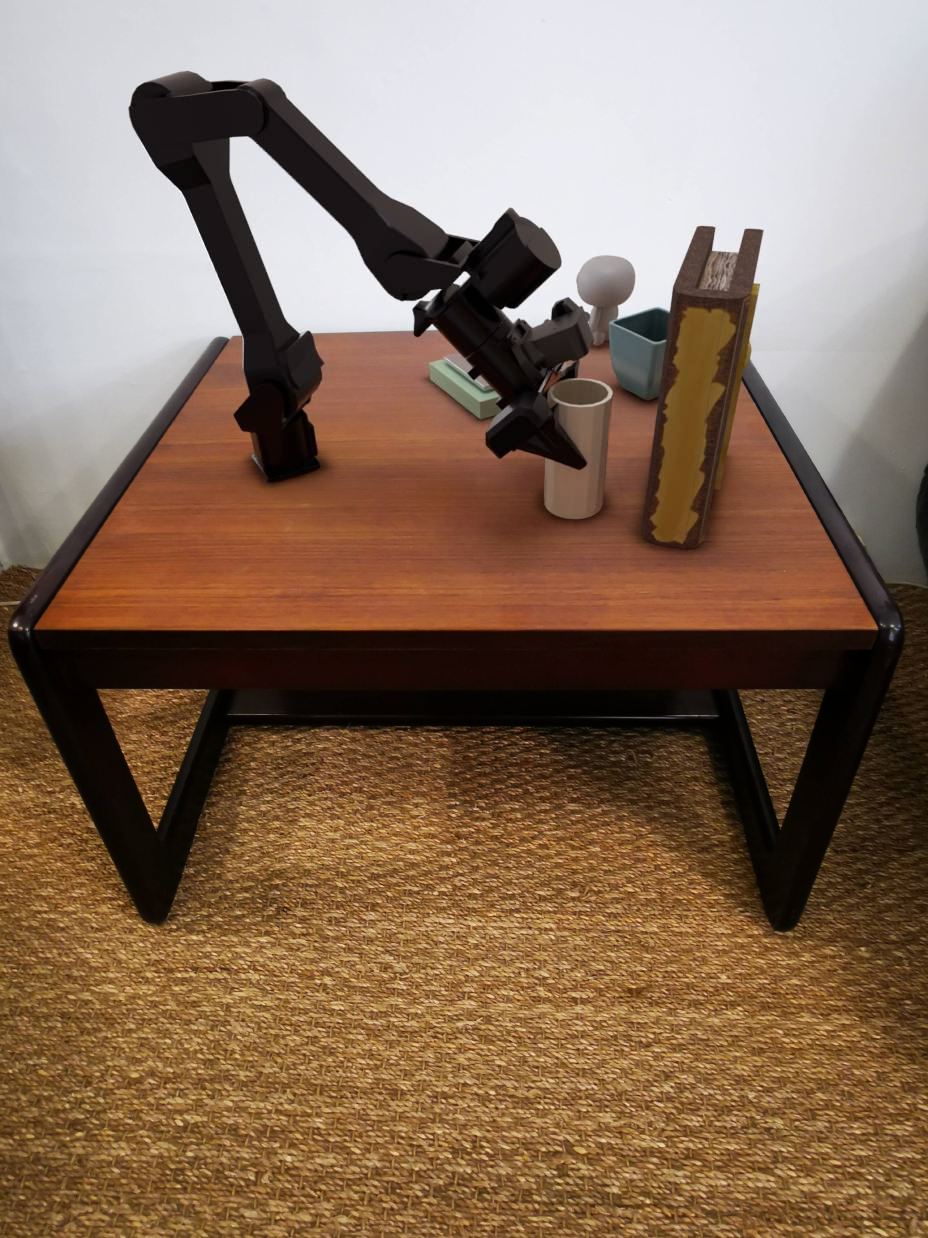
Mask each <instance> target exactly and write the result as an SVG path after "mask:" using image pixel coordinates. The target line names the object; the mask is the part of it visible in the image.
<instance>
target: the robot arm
mask: <svg viewBox="0 0 928 1238" xmlns="http://www.w3.org/2000/svg"><path fill="white" fill-rule="evenodd" d="M127 111H128V117H129V120H130V124H131V126H132V129H133V131H134V133H135V135H136V137H137V138H138V140H139V141H140V143H141V145H142V147H143V148H144V151H145V152H146V153H147V155H148V157H149V159H150V161H151V163H152V164H153V166H154V167H155V168H156V170H158V171H159V172H160V173H161V174H162V175H163V176H164V177H165V178H166V179H167V180H168V181H169V182H170V183H171V184H172V185H173V186H174V187H175V188H176V189H177V190H178V191H179V192H180V193H181V195H182V197H183V199H184V201H185V204H186V206H187V209H188V211H189V213H190V215H191V218H192V221H193V222H194V225H195V227H196V229H197V232H198V234H199V237H200V239H201V241H202V244H203V246H204V249H205V251H206V253H207V256H208V258H209V261H210V263H211V265H212V268H213V270H214V272H215V275H216V277H217V279H218V282H219V284H220V286H221V289H222V291H223V294H224V296H225V298H226V301H227V303H228V305H229V307H230V310H231V313H232V315H233V318H234V319H235V322H236V324H237V326H238V329H239V331H240V333H241V337H242V371H243V372H242V373H243V376H244V379H245V383H246V386H247V390H248V394H249V395H248V397H246V399H244V401H243V402H242V404H241V405H240V406H239V407H238V408H237V409H236V410H235V411H234V412H233V418H234V420H235V422H236V423H237V426H238V428H239V429H240V431H242V432H244V433H250V434H249V435H250V438H251V443H252V447H253V451H254V454H252V455H251V458H252V461H253V463H254V464H255V465H256V467H257V468H258V469H259V471H260V472H261V473H262V475H263V477H264V478H265V479H266V480H267V482H269V483H273V482H276V481H279V480H283V479H286V478H290V477H293V476H298V475H300V474H303V473H306V472H309V471H313V470H317V469H319V468H321V466H322V465H321V462H320V461H319V459H318V458H317V456H318V455H319V449H318V442H317V438H316V437H317V436H316V431H315V426H314V424H313V423H312V422H311V420H310V419H309V417H308V413H307V412H306V411H305V410H304V408H305V407H306V406H307V405H309V404H310V403H311V402H312V396H313V394H314V393H315V392H316V391H318V389H319V387H320V385H321V383H322V381H323V371H322V367H323V366H325V362H324V360H323V359H322V357H321V356H320V355H319V353H318V351H317V348H316V344H315V343H316V342H315V338H314V336H313V333H312V332H311V330H305V331H303V332H299V331H298V330H297V329H295V328H294V327H293V326H292V325H291V323H289V322H288V321H287V318H286V317H285V315H284V312H283V309H282V307H281V304H280V302H279V299H278V297H277V294H276V291H275V289H274V286H273V284H272V281H271V279H270V277H269V273H268V271H267V268H266V266H265V263H264V261H263V258H262V255H261V252H260V251H259V247H258V245H257V243H256V242H257V241H256V240H255V237H254V235H253V232H252V229H251V227H250V224H249V222H248V219H247V217H246V214H245V212H244V209H243V207H242V204H241V201H240V199H239V196H238V194H237V191H236V188H235V185H234V184H233V180H232V177H231V138H245V137H247V138H249V139H251V140H252V141H253V142H254V143H255V144H256V145H257V146H258V147H259V148H260V149H261V150H262V151H263V152H264V153H265V154H266V155H267V156H268V157H269V158H270V159H271V160H273V161H274V163H275V164H277V165H278V166H279V167H280V168H281V169H282V170H283V171H284V172H285V173H286V174H287V175H288V176H289V177H290V178H291V180H293V181H294V182H295V183H296V184H297V185H298V186H299V187H301V189H303V191H305V193H306V194H308V196H310V197H311V198H312V199H313V200H314V201H315V202H316V203H317V204H318V205H319V206H320V207H321V208H322V209H323V210H324V211H326V213H327V214H328V215H330V216H331V217H332V219H333V220H335V222H337V223H338V224H339V225H340V226H341V228H343V229H344V230H345V231H346V233H347V234H348V235H349V237H351V239H352V240H353V242H354V244H355V246H356V248H357V251H358V253H359V255H360V257H361V260H362V262H363V265H365V267H366V269H368V271H369V272H370V273H371V274H372V276H373V277H374V278H375V280H376V281H377V282H378V283H379V285H380V286H381V287H382V289H383V290H384V291H385V292H386V293H387V294H388V295H389V296H391V297H392V298H393V299H394V300H397V301H399V302H415V301H418V300H419V301H418V302H417V303H416V304H415V305H413V307H412V308H411V309H412V310H411V311H412V315H413V332H412V333H413V336H414V337H415V338H420V337H421V336H423V334H424V333H425V332H426V331H427V330H428V329H429V328H430V327H431V326H432V325H433V327H434V328H435V329H436V331H438V332H439V333H440V334H441V336H443V337H444V339H446V341H447V342H448V343H449V344H450V345H451V346H452V347H453V348H454V349H455V350H456V351H457V353H460V354H461V355H462V356H463V357H464V359H465V360H466V361H467V362H468V363H469V364H470V365H471V368H470V369H469V371H468V372H467V374H468V375H469V376H470V377H471V378H472V379H473V380H475V379H476V378H478V377H479V376H481V377H482V378H483V379H484V380H485V381H486V382H487V383H488V384H489V385H490V386H491V387H492V388H493V390H494V391H495V392H496V393H497V394H498V395H499V396H500V397H499V398H498V400H497V402H496V405H497V406H498V407H499V408H500V409H501V410H502V411H501V412H500V413H499V414H498V415H495V416H493V419H492V421H491V423H490V424H489V426H488V427H487V429H486V431H485V433H484V435H485V437H484V438H485V439H484V441H485V443H484V444H485V446H486V448H488V450H489V451H491V452H492V454H493V455H494V456H495V457H496V458H497V459H498V460H501V459H503V458H504V457H505V456H507V455H508V454H509V453H510V452H512V453H513V452H516V451H522V452H525V453H529V454H531V455H536V456H539V457H540V458H541V457H542V458H547V459H550V460H553V461H555V462H558V463H561V464H564V465H566V466H569V467H572V468H574V469H577V470H581V469H583V468H584V467H585V466H586V465H587V461H586V460H585V458H584V456H583V455H582V453H581V452H580V450H579V449H578V448H577V446H576V445H575V444H574V442H573V441H572V440H571V438H570V437H569V435H568V434H567V433H566V431H565V430H564V429H563V427H562V426H561V425H560V423H559V402H558V403H557V404H555V405H554V406H553V407H552V408H550V407H549V404H548V391H549V388H550V387H551V386H552V385H553V384H555V383H556V382H559V381H562V380H566V379H573V378H578V376H579V375H578V374H579V368H580V367H579V366H580V360H581V359H583V358H585V357H586V356H587V355H588V354H589V353H590V347H591V345H592V344H593V342H594V337H593V334H592V332H591V329H590V326H589V319H590V313H589V312H588V311H586V310H585V309H584V307H583V305H580V306H579V305H578V304H577V303H576V302H575V301H573V299H571V298H570V297H569V296H566V297H565V298H561V299H559V300H557V301H555V302H554V304H553V306H552V307H551V315H550V319H549V318H546V319H544V321H543V322H542V323H541V324H539V325H536V326H534V327H532V326H531V325H530V324H529V323H528V322H527V320H525V319H521V318H520V317H518V318H517V319H516V320H515V321H514V322H513V321H512V320H511V319H510V318H509V317H508V316H507V314H506V313H505V312H504V311H503V310H504V309H505V308H507V309H509V310H516V309H518V308H519V307H520V306H521V305H522V304H523V303H524V302H525V301H526V300H528V299H529V298H530V297H531V295H533V294H534V293H535V292H536V291H537V290H538V289H539V288H541V286H542V285H543V284H544V283H545V282H547V281H548V279H550V278H551V277H552V276H553V275H554V274H555V273H557V271H558V270H560V268H561V267H562V263H563V262H562V261H563V260H562V256H561V254H560V251H559V249H558V247H557V245H556V243H555V241H554V240H553V238H551V236H550V235H549V233H548V232H547V231H546V230H545V229H544V227H539V226H538V225H537V224H536V223H535V222H533V221H532V220H530V219H529V218H527V217H525V216H521V215H520V214H519V213H518V212H517V211H516V210H515V209H514V208H513V207H508V208H507V209H506V210H505V211H504V212H503V214H501V216H500V217H498V219H497V220H496V221H495V223H494V224H493V226H492V228H491V229H490V231H489V232H488V233H487V234H486V235H485V236H484V237H483V238H482V239H481V240H477V239H474V238H469V237H465V236H460V235H455V234H450V233H446V232H445V230H444V229H443V228H442V227H441V226H440V225H438V224H437V223H436V222H434V221H433V220H431V219H429V217H428V216H426V215H424V214H423V213H422V212H420V211H419V210H417V209H416V208H415V207H413V206H411V205H408V204H406V203H404V202H402V201H399V200H397V199H394V198H392V197H391V196H389V195H388V194H386V193H385V192H383V191H382V190H381V189H380V188H379V187H377V185H375V183H373V181H372V180H371V179H370V178H369V177H367V176H366V175H365V174H364V173H363V172H362V170H360V169H359V167H357V166H356V165H355V163H353V162H352V161H351V160H350V159H349V158H348V156H346V155H345V154H344V153H343V152H342V150H340V148H338V147H337V146H336V145H335V143H333V142H332V140H330V139H329V138H328V137H327V136H326V135H325V134H324V133H323V132H322V131H321V130H320V129H319V128H318V127H317V126H316V125H315V124H314V123H313V122H312V121H311V120H310V119H309V118H308V117H307V116H306V115H305V114H304V113H303V111H301V110H300V109H299V108H298V107H297V106H296V105H295V104H294V103H293V102H292V101H291V100H290V99H289V98H288V97H287V94H286V92H285V91H284V89H283V88H282V86H281V85H279V84H278V83H277V82H275V81H273V80H271V79H268V78H265V77H263V78H257V79H254V80H236V79H235V80H234V79H226V80H213V81H212V80H211V81H210V80H208V79H205V78H204V77H203V76H201V75H200V74H199V73H196V72H194V71H191V70H183V71H181V70H180V71H178V72H174V73H170V74H167V75H165V76H161V77H158V78H155V79H150V80H148V81H145V82H143V83H141V84H139V85H137V86H136V88H135V89H134V91H133V92H132V94H131V99H130V104H129V106H128V109H127ZM463 273H467V275H469V276H468V277H467V278H466V279H465V280H464V281H463V282H462V284H457V283H455V282H456V281H457V280H458V279H459V278H460V277H461V276H462V275H463ZM438 290H439V291H438ZM431 291H438V292H437V293H436V294H435V295H434V296H433V297H432V298H431V299H430V300H421V299H423V298H425V297H426V296H427V295H428V294H430V292H431ZM569 361H571V362H572V363H570V364H569V365H568V364H567V362H569Z"/></svg>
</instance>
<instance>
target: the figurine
mask: <svg viewBox="0 0 928 1238" xmlns="http://www.w3.org/2000/svg"><path fill="white" fill-rule="evenodd" d="M575 283H576V290H577V294H578V296H579V298H580V300H581V301H582V302H584V303H585V304H586V305H589V306H592V309H591V310H590V313H589V314H590V319H589V321H588V324H589V326H590V329H591V332H592V334H593V337H594V342H593V343H592V344H593V345H594V346H596V347H600V346H602V345H603V343H604V342H608V341H609V322H611V321H613V320H616V319H619V306H620V305H622V304H624V303H625V302H626V301H628V300H629V299H630V297H631V296H632V294H633V292H634V289H635V284H636V271H635V268H634V266H633V264H632V263H631V262H630V261H629V260H628V259H626V258H624V257H621V256H617V255H608V254H607V255H606V254H605V255H598V256H593V257H591V258H590V259H587V260H586V261H585V262H584V264H583V265H582V266H581V268H580V269H579V271H578V273H577V275H576V279H575Z"/></svg>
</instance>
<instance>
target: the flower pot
mask: <svg viewBox="0 0 928 1238" xmlns="http://www.w3.org/2000/svg"><path fill="white" fill-rule="evenodd" d="M669 314H670V310H668V309H665V308H663V307H659V306H655V307H650V308H648V309H645V310H642V311H639V312H636V313H633V314H630V315H626V316H623V317H618V318H617V319H616V320H613V321H611V322H609V340H608V341H609V342H608V343H609V357H610V363H611V367H612V370H613V372H614V375H615V377H616V379H617V381H618V383H619V385H620V386H621V388H623V389H624V390H626V391H628V392H630V393H632V394H633V395H636V396H638V397H639V398H641V399H643V400H644V401H651V400H654V399H656V398H659V391H660V384H661V376H662V368H663V360H664V353H665V345H666V337H667V330H668V322H669Z"/></svg>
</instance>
